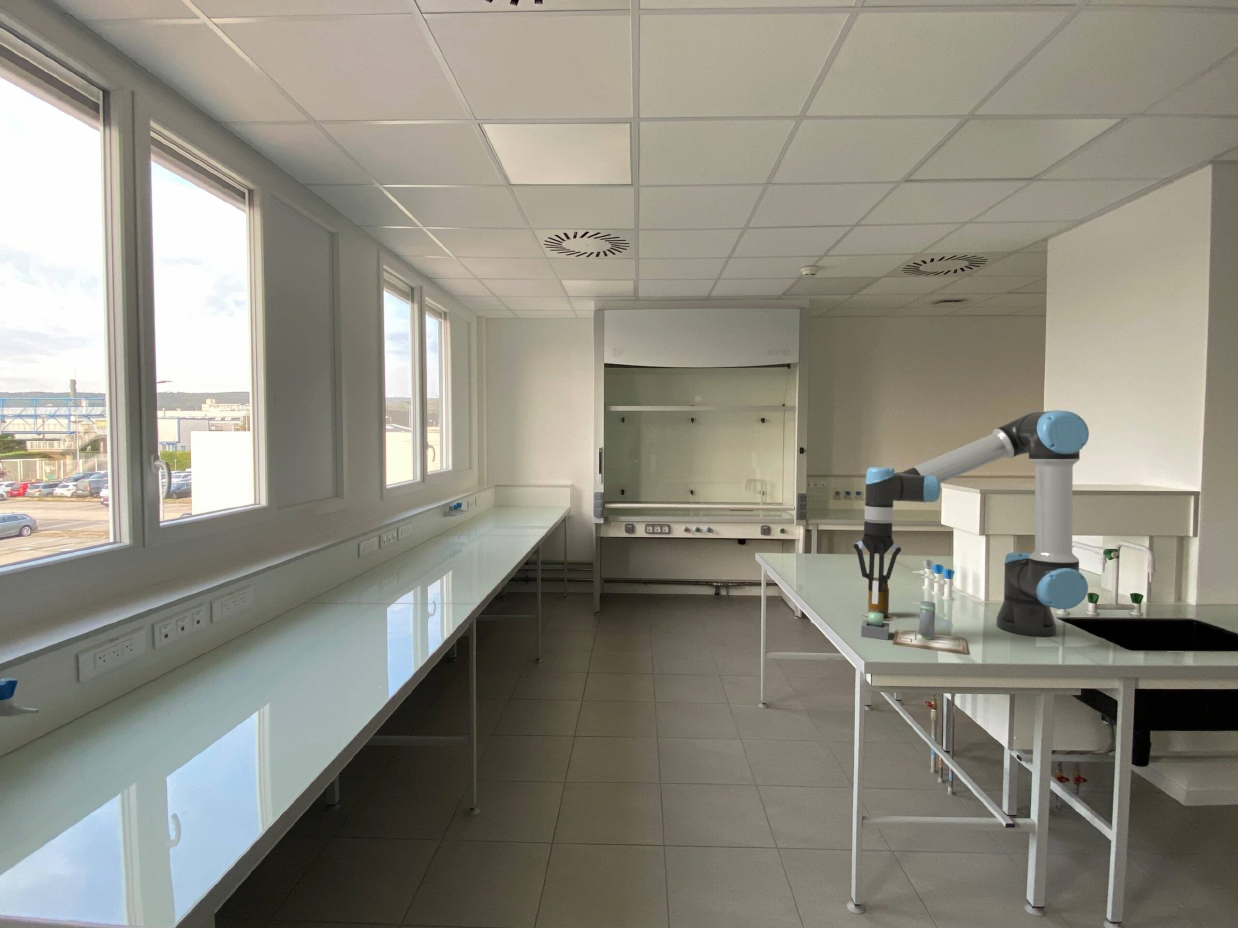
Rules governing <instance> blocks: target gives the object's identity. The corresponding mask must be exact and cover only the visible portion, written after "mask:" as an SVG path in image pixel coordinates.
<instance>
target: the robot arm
mask: <svg viewBox="0 0 1238 928" xmlns="http://www.w3.org/2000/svg"><path fill="white" fill-rule="evenodd" d="M1089 431H1090V430H1089V427H1088V424H1087V423H1086V422H1085V420H1084V418H1082V417H1081V416H1080V415H1079V414H1077V413H1075V412H1072V411H1069V410H1059V409H1056V410H1047V411H1037V412H1031V413H1027V414H1024V415H1023V416H1020V417H1018V418H1016V419H1015V420H1012V421H1010V422H1008V423H1006V424H1004V425H1002V426H999V427H997V428H995V429H993V431H992V433H991V434H988V435H986V436H984V437H982V438H980V439H977V440H975V441H973V442H970V443H968V444H965V445H963V446H961V447H959V448H956V449H954V450H951V451H949V452H946V453H944V454H942V455H939V456H936V457H935V458H932V459H930V460H927V461H925V462H922V463H920V464H917V465H915V466H913V467H911V468H907V469H906V470H904V471H899V472H898V471H897V472H896V470H895V469H894V468H893V467H879V466H877V467H876V466H870V467H869V468H868V469H867V470H866V475H865V477H866V478H865V483H864V484H865V497H864V499H865V500H864V501H865V502H864V519H865V521H864V522H863V523H864V524H863V525H864V526H863V536H862V538H861V540H860V541H858V542H855V543H854V544H853V548H854V549H855V551H856V553H857V558H858V563H859V568H860V572H861V577H862V578H865V579H867V581H868V592H869V591H872V604H878V594H879V592H882V591H883V581H884V580H888V581H889V580H890V579H891V576H892V572H893V569H894V566H895V563H896V560H897V558H898V557H897V556H898V555H899V554H900V552H902V547H901V546H898V545H897V544H895V543H894V542H895V541H894V539H893V523H892V521H893V520H894V519H893V518H894V501H895V502H915V503H934V502H936V501H938V500H939V497H940V495H941V484H942V483H944V482H947V481H950V480H951V479H954V478H956V477H960V476H962V475H963V474H967V473H968V472H971V471H974V470H975V469H978V468H981V467H984V466H985V465H986V466H987V465H988V464H990V463H991V464H992V463H993V462H996V461H998V460H1001V459H1003V458H1007V459H1013V458H1015V457H1017V456H1020V455H1024V454H1028V460H1029V461H1030V462H1031V463H1032V464H1033V465H1034V486H1035V487H1034V551H1033V552H1008V553H1007V554H1006V555H1005V559H1004V564H1003V565H1004V579H1003V581H1004V582H1003V583H1004V585H1003V588H1004V589H1003V591H1004V592H1003V602H1002V604H1001V607H1000V608H999V611H998V613H997V616H996V620H995V621H996V623H995V624H996V627H998V628H999V629H1001V630H1004V631H1007V632H1010V633H1014V634H1019V635H1025V636H1030V637H1031V636H1032V637H1033V636H1034V637H1051V636H1055V635H1057V623H1056V621H1055V618H1054V615H1053V612H1052V608H1054V609H1056V610H1070V609H1072V608H1075V607H1077V606H1078V605H1080V603H1082V602H1084V600H1085V599H1086V597H1087V595H1088V592H1089V583H1088V581H1087V579H1086V577H1085V576H1084V575H1083V574H1082V573H1081V572H1080V559H1079V557H1078V556H1076V555H1075V554H1073V485H1074V484H1073V483H1074V482H1073V479H1074V478H1073V474H1074V473H1073V471H1074V469H1073V467H1074V465H1075V464H1077V463H1078V462H1079V461H1080V457H1081V456H1080V454H1081V452H1080V450H1082V449H1083V448H1084V446H1086V444H1087V443H1088V440H1089V436H1090V432H1089ZM863 545H864V546H863ZM864 547H865V548H866V550H867V551H868V553H869V555H868V556H869V559H868V560H869V562H868V563H869V564H868V571H867V567H866V561H865V557H864V552H863V548H864ZM890 549H891V552H892V555H891V557H890V561H889V565H888V567H887V571H886V573H885V574H884V570H885V554H886V553H887V552H888V551H889V550H890ZM876 554H878V577H877V578H878V580H876V579H874V578H875V561H876V560H875V555H876Z"/></svg>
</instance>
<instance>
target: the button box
mask: <svg viewBox="0 0 1238 928" xmlns="http://www.w3.org/2000/svg"><path fill="white" fill-rule="evenodd" d="M860 626H861V628H860V629H861V630H860V631H861V633H860V637H862V638H863V637H865V638H870V639H877V640H885V641H888V640H889V637H890V622H884V621H883V625H882V626H874V625H870V624H868V619H867V620H865V619H863V621H862V624H861V625H860Z"/></svg>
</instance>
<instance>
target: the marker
mask: <svg viewBox="0 0 1238 928" xmlns="http://www.w3.org/2000/svg"><path fill="white" fill-rule="evenodd" d="M935 622H936V602H933V601H925V600H924V601H920V602H919V630H918V632H919V634H920V635H921V638H922V639H925V640H932V637H934V634H935V629H936V628H935V627H936V626H935V625H936V624H935Z"/></svg>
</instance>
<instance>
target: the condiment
mask: <svg viewBox="0 0 1238 928" xmlns="http://www.w3.org/2000/svg"><path fill="white" fill-rule="evenodd" d="M874 579H876V580H878V577H874ZM888 583H889V580H884V581H883V591H882V592H879V594H878V604H872V591H869V590H868V599H867V604H868V605H867V612H868V613H869V612H880V613H883V621H893V620H895V619H898V618H899V617H898V616H896V615H892V614H891V615H890V614H889V610H890V609H889V608H890V607H889V606H890V605H889V603H890V602H889V600H890V589H889V584H888ZM868 613H864V614H863V616H865V617H868Z"/></svg>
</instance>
